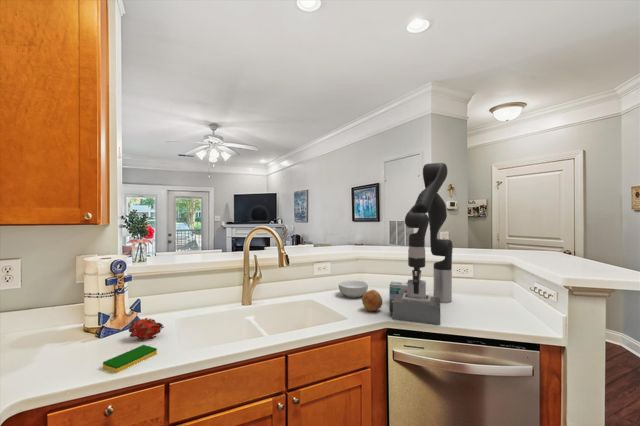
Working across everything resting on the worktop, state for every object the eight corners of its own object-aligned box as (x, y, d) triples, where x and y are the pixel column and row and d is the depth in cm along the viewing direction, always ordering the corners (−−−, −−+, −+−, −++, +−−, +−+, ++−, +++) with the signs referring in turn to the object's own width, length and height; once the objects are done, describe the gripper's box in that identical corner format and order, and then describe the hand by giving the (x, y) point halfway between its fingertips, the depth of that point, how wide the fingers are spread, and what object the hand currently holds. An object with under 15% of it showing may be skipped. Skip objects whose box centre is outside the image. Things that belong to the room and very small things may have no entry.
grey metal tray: (392, 309, 152) (392, 290, 152) (439, 314, 144) (439, 294, 144) (388, 318, 139) (388, 297, 138) (440, 324, 131) (440, 302, 131)
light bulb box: (389, 304, 160) (389, 283, 160) (391, 300, 166) (391, 281, 166) (410, 306, 156) (410, 285, 156) (411, 303, 162) (411, 282, 162)
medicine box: (426, 299, 141) (426, 280, 141) (425, 301, 137) (425, 282, 137) (408, 297, 144) (408, 279, 144) (407, 299, 140) (407, 281, 140)
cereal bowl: (336, 292, 183) (336, 280, 183) (363, 291, 185) (363, 279, 185) (341, 300, 167) (341, 287, 166) (371, 299, 168) (371, 286, 168)
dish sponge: (102, 369, 95) (102, 362, 95) (143, 351, 108) (143, 344, 108) (116, 375, 92) (116, 367, 92) (157, 355, 105) (157, 348, 105)
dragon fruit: (126, 344, 116) (161, 344, 120) (124, 338, 110) (160, 338, 114) (132, 321, 121) (165, 322, 125) (130, 314, 115) (165, 315, 119)
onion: (362, 306, 156) (362, 287, 156) (382, 308, 154) (382, 288, 154) (361, 313, 146) (361, 292, 146) (382, 314, 144) (382, 293, 144)
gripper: (409, 253, 149) (409, 287, 149) (407, 258, 135) (407, 294, 135) (425, 254, 146) (425, 288, 146) (424, 258, 133) (424, 296, 133)
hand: (416, 291), depth 141 cm, fingers open, 8 cm apart
